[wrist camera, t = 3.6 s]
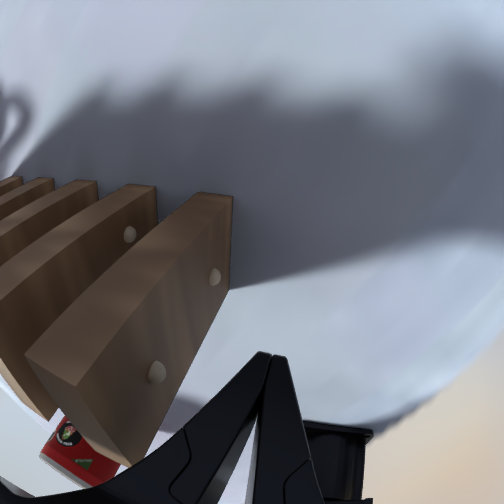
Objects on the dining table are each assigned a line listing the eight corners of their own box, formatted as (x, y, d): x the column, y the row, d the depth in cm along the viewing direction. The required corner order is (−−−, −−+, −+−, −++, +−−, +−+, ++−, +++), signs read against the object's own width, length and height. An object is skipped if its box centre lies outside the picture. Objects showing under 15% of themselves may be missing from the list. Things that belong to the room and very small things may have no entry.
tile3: (101, 181, 14) (-59, 285, 5) (112, 262, 16) (-2, 382, 8) (76, 179, 14) (-72, 272, 6) (89, 256, 17) (-22, 363, 8)
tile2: (162, 187, 13) (-16, 325, 5) (168, 276, 16) (54, 426, 7) (128, 183, 14) (-42, 301, 5) (138, 269, 16) (22, 402, 8)
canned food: (129, 396, 25) (77, 483, 16) (152, 432, 29) (114, 506, 20) (75, 374, 27) (24, 445, 17) (102, 412, 31) (63, 476, 21)
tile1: (240, 197, 13) (89, 393, 4) (235, 291, 15) (147, 476, 7) (198, 191, 13) (23, 354, 5) (199, 283, 16) (95, 450, 7)
